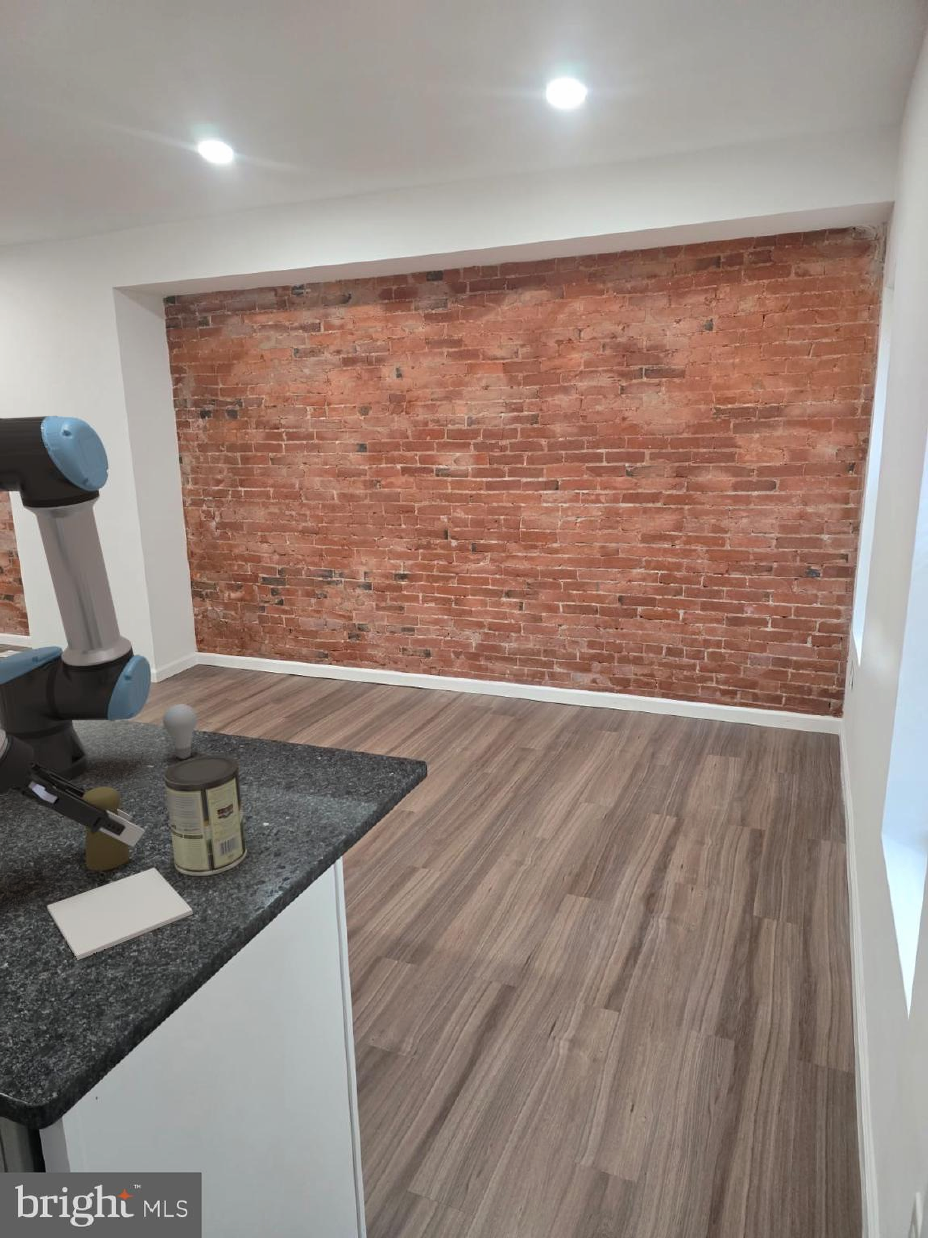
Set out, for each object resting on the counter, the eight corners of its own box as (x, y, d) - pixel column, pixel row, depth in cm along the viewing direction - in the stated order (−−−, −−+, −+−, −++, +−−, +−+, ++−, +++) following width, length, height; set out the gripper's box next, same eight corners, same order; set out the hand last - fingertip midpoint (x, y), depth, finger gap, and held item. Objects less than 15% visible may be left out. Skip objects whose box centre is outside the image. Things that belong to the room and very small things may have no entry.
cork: (114, 872, 114) (104, 801, 111) (76, 868, 115) (66, 798, 112) (139, 851, 119) (130, 783, 117) (103, 848, 120) (93, 780, 118)
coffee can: (197, 838, 123) (187, 752, 120) (258, 843, 121) (251, 756, 118) (159, 873, 113) (147, 781, 110) (225, 880, 111) (216, 786, 108)
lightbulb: (161, 760, 153) (154, 706, 151) (187, 750, 158) (182, 697, 155) (180, 767, 150) (174, 712, 147) (207, 756, 155) (202, 702, 152)
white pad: (47, 909, 105) (47, 905, 105) (154, 871, 113) (154, 867, 113) (77, 960, 94) (76, 956, 94) (192, 914, 103) (192, 909, 103)
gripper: (-43, 762, 110) (97, 831, 124) (-18, 805, 97) (136, 878, 111) (-6, 716, 113) (128, 790, 126) (24, 753, 99) (170, 830, 113)
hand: (131, 830), depth 119 cm, fingers closed on cork, 5 cm apart
